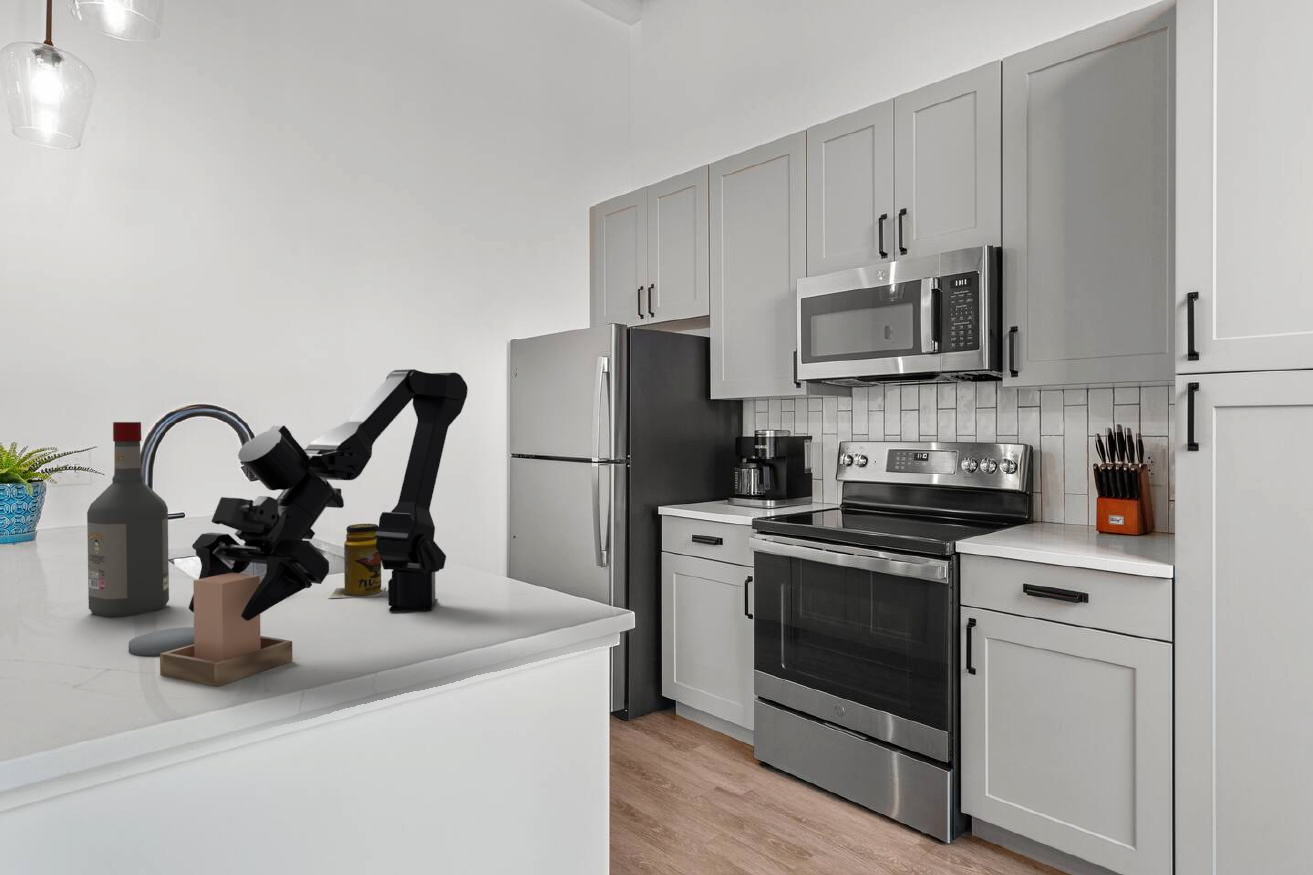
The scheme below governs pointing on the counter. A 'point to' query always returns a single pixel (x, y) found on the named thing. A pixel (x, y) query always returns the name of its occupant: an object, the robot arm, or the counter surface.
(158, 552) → the liquor
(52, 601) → the counter surface
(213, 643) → the tan rectangular block
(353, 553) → the condiment
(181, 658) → the wooden tray
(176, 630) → the coaster
